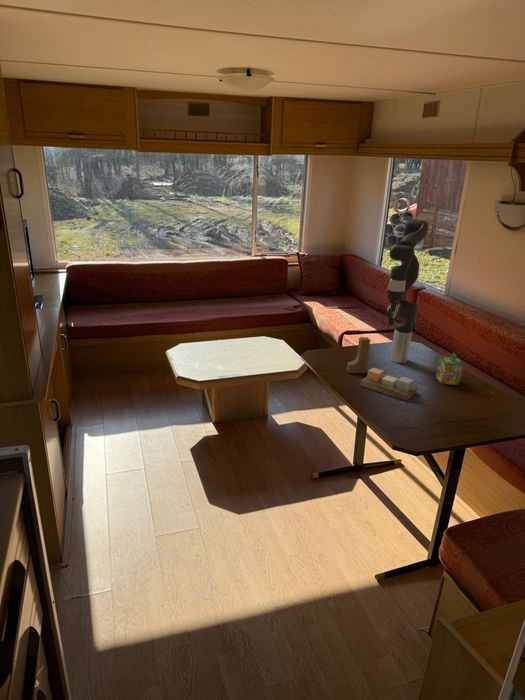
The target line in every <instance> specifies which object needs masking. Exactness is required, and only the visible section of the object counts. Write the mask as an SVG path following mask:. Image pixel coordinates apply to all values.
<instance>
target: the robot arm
mask: <svg viewBox="0 0 525 700" xmlns="http://www.w3.org/2000/svg"><path fill="white" fill-rule="evenodd" d="M428 233H429V223H428V221H427V220H424V219H414V218H413V219H407V220H406V221H405V223H404V230H403V237H402V238H401V239H400V241H397V242H396V243H395V244H393V245H392V246H391V247H390V249H389V257H390V259H391V260H393V261H396V262H397V261H399V262H401V263H400V265H394V266H392V267H391V270H390V276H389V282H388V286H387V294H386V298H387V299H388V300H389V302H388V305H387V307H385V314H386V317H388V323H387V324H388V326H394V331H393V338H392V345H391V349H390V350H391V351H390V357H389V360H390V361H392V362H393V363H396V364H397V363H398V364H406V363H408V360H409V359H408V358H409V353H410V346H411V342H412V335H413V330H414V328H415V324H416V317H417V315H418V304H417V303H416V302H413V301H409V300H406V297H407V293H408V291H409V290H410V289H411V288H412V286H413V285H414V284H415V283H416V282H417V280H418V278H419V274H420V262H419V260H418V258H417V255H416V254H415V248H416V245H418V244H419V243H420V242H422V241H424V239H425V238H426V237H427V235H428ZM396 317H398V318H402V319H404V320H405V321H404V322H399V323H398V322H397V323H395V320H396Z"/></svg>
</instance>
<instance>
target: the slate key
mask: <svg viewBox="0 0 525 700" xmlns="http://www.w3.org/2000/svg"><path fill="white" fill-rule="evenodd" d="M397 379H398V380H397V386H396V389H399V390H402V391H405V392H409V391H411V390H412V386H414V379H412V378H409V377H405V376H401V377H399V378H397Z"/></svg>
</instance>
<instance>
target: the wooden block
mask: <svg viewBox="0 0 525 700" xmlns="http://www.w3.org/2000/svg"><path fill="white" fill-rule="evenodd" d="M357 344H358V345H357V353H356V357H355V358H354V360H352V361H347V366H346V371H347V372H348V374H366V373H367V367H368V366H367V365H368V359H369V353H370V344H371V339H370V338H369V337H367V336H366V337H364V336H363V337H362V336H361V337H360V336H359V339H358V343H357Z"/></svg>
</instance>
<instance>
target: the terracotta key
mask: <svg viewBox="0 0 525 700" xmlns="http://www.w3.org/2000/svg"><path fill="white" fill-rule="evenodd" d="M383 376H384V369H379V368H376V367H372V368H370V369H368V371H367V376H366V377H367V379H368V380H371V381H374V382H377V383H378V382H380V381H381V380H382V378H383Z"/></svg>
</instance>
